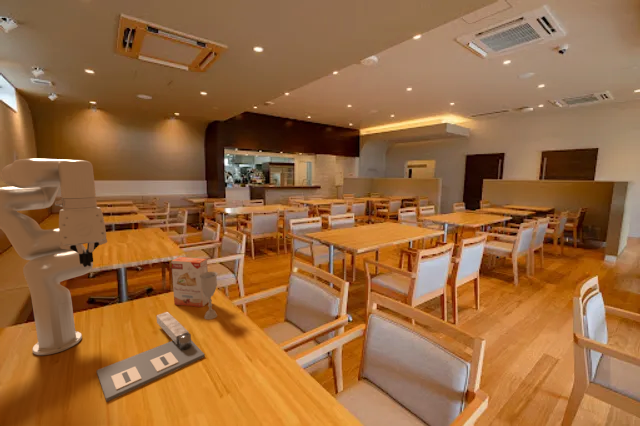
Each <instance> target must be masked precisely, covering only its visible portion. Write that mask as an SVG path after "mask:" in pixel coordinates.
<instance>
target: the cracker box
mask: <svg viewBox="0 0 640 426" xmlns="http://www.w3.org/2000/svg"><path fill="white" fill-rule="evenodd" d="M205 272H209V271H208V259H207V258H197V257H183V256H179V257H176V258H174V259H172V260H171V273H172V274H171V275H172V286H173V289H172V290H173V302H174V305H175V306H176V305H178V306H188V307H199V308H203V307H205V306H206V305H207V304H209V302H208V300H209V298H208V297H206V295H205V294H204V292H203V290H202V288H201V278H200V277H199V276H200V275H201V274H202V273H205Z"/></svg>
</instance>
